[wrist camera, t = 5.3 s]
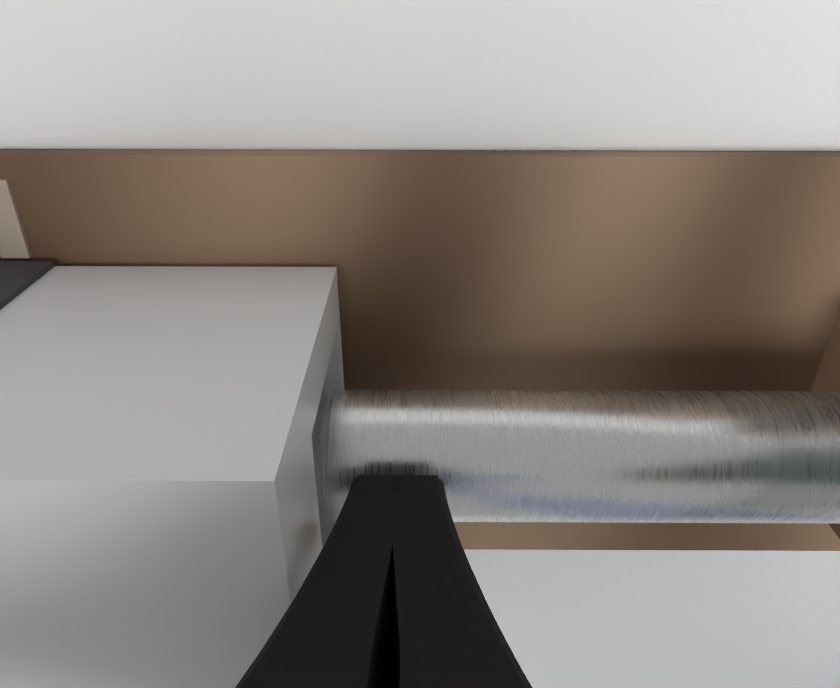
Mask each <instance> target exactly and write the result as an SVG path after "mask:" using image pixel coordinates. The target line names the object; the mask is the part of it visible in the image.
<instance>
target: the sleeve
mask: <svg viewBox="0 0 840 688" xmlns="http://www.w3.org/2000/svg"><path fill="white" fill-rule="evenodd" d="M322 390H344V375H343V359H342V344H341V328H340V312H339V296H338V281H337V267H180V266H55V267H53V268H52V269H51V270H50V271H48V272H47V273H46V274H45V275H43V276H42V277H41V278H40V279H38V280H37V281H36V282H35V283H33V284H32V285H31V286H30V287H28V288H27V289H26V290H25V291H23V292H22V293H21V294H20V295H18V296H17V297H16V298H15V299H13V300H12V301H11V302H10V303H8V304H7V305H6V306H5V307H3V308H2V309H1V310H0V688H235V687H236V685H237V684H238V683H239V681H240V680H241V679H242V677H243V676H244V674H245V673H246V671H247V670H248V669H249V667H250V666H251V664H252V663H253V661H254V660H255V659H256V657H257V656H258V654H259V653H260V651H261V650H262V648H263V647H264V645H265V644H266V642H267V640H268V639H269V637H270V636H271V634H272V633H273V631H274V629H275V628H276V626H277V625H278V623H279V622H280V620H281V619H282V617H283V615H284V614H285V612H286V611H287V609H288V608H289V606H290V605H291V603H292V601H293V600H294V598H295V596H296V595H297V593H298V591H299V590H300V588H301V586H302V584H303V583H304V581H305V579H306V577H307V575H308V574H309V572H310V570H311V568H312V566H313V565H314V563H315V561H316V559H317V558H318V556H319V554H320V552H321V550H322V549H323V547H324V545H325V543H326V541H327V539H328V537H329V535H330V533H331V531H332V529H333V527H334V525H335V523H336V522H332V521H320V520H319V509H318V499H317V489H316V478H315V468H314V457H313V447H312V436H311V435H312V431H313V427H314V423H315V419H316V415H317V410H318V406H319V402H320V398H321V394H322Z"/></svg>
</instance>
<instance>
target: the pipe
mask: <svg viewBox="0 0 840 688" xmlns="http://www.w3.org/2000/svg"><path fill="white" fill-rule="evenodd" d="M311 436H312V447H313V457H314V468H315V478H316V489H317V499H318V509H319V520H320V521H332V522H336V520H337V518H338V516H339V514H340V512H341V509H342V507H343V505H344V502H345V500H346V497H347V495H348V492H349V489H350V487H351V484H352V481H353V480H354V479H356V478H357V477H358V476H359V475H436V476H438V477H439V478H440V479H441V480H442V481H443V482H444V489H445V494H446V498H447V502H448V506H449V509H450V513H451V516H452V519H453V522H586V523H839V524H840V392H820V391H533V390H322V394H321V398H320V402H319V406H318V410H317V415H316V419H315V423H314V427H313V431H312V435H311Z"/></svg>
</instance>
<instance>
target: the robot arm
mask: <svg viewBox="0 0 840 688" xmlns="http://www.w3.org/2000/svg"><path fill="white" fill-rule="evenodd" d="M235 688H532V687H531V685H530V683H529V681H528V680H527V678H526V676H525V674H524V673H523V671H522V669H521V667H520V666H519V664H518V662H517V660H516V658H515V657H514V655H513V653H512V651H511V649H510V647H509V645H508V643H507V641H506V640H505V638H504V636H503V634H502V632H501V630H500V628H499V626H498V624H497V622H496V620H495V618H494V616H493V614H492V612H491V610H490V608H489V606H488V604H487V602H486V600H485V598H484V595H483V593H482V591H481V589H480V587H479V584H478V582H477V580H476V578H475V575H474V573H473V571H472V569H471V567H470V564H469V562H468V559H467V557H466V555H465V552H464V550H463V547H462V544H461V542H460V539H459V536H458V534H457V531H456V528H455V525H454V522H453V519H452V516H451V513H450V509H449V506H448V502H447V498H446V494H445V489H444V482H443V481H442V480H441V479H440V478H439V477H438V476H436V475H359V476H358V477H357V478H356V479H354V480H353V481H352V484H351V487H350V489H349V492H348V495H347V497H346V500H345V502H344V505H343V507H342V509H341V512H340V514H339V516H338V518H337V520H336V523H335V525H334V527H333V529H332V531H331V533H330V535H329V537H328V539H327V541H326V543H325V545H324V547H323V549H322V550H321V552H320V554H319V556H318V558H317V559H316V561H315V563H314V565H313V566H312V568H311V570H310V572H309V574H308V575H307V577H306V579H305V581H304V583H303V584H302V586H301V588H300V590H299V591H298V593H297V595H296V596H295V598H294V600H293V601H292V603H291V605H290V606H289V608H288V609H287V611H286V612H285V614H284V615H283V617H282V619H281V620H280V622H279V623H278V625H277V626H276V628H275V629H274V631H273V633H272V634H271V636H270V637H269V639H268V640H267V642H266V644H265V645H264V647H263V648H262V650H261V651H260V653H259V654H258V656H257V657H256V659H255V660H254V661H253V663H252V664H251V666H250V667H249V669H248V670H247V671H246V673H245V674H244V676H243V677H242V679H241V680H240V681H239V683H238V684H237V685H236V687H235Z"/></svg>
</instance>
